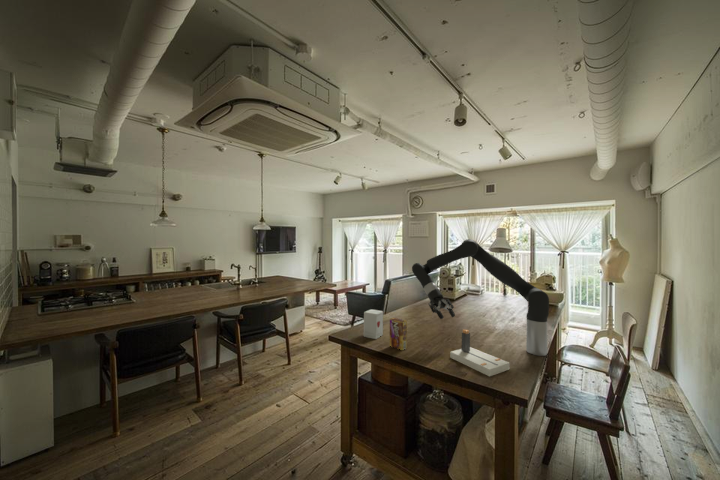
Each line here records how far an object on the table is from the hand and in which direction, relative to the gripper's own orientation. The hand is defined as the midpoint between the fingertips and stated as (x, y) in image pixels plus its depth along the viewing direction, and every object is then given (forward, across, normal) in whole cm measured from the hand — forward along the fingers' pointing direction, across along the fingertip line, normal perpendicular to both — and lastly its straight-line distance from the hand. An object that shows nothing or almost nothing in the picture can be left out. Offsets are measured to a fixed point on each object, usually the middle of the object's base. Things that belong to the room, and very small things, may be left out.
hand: (448, 317), depth 151 cm
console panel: (+26, 0, -1) cm, 26 cm away
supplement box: (-14, -24, +38) cm, 47 cm away
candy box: (+2, -22, +23) cm, 32 cm away
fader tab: (+18, 0, +2) cm, 18 cm away
